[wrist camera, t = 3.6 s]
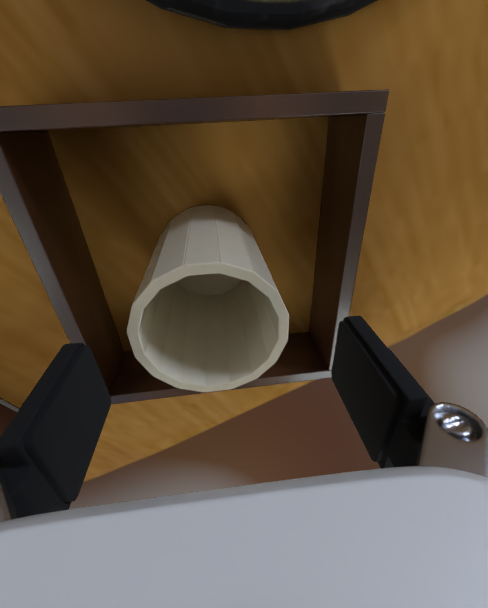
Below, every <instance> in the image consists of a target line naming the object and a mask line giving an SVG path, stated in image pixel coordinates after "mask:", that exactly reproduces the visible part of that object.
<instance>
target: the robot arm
mask: <svg viewBox="0 0 488 608" xmlns="http://www.w3.org/2000/svg"><path fill="white" fill-rule="evenodd" d="M331 375H332V379H333V382H334V384H335V386H336V388H337V390H338V392H339V395H340V396H341V398H342V400H343V403H344V405H345V407H346V409H347V411H348V413H349V415H350V417H351V419H352V421H353V423H354V425H355V427H356V429H357V431H358V433H359V435H360V437H361V439H362V441H363V443H364V445H365V447H366V449H367V451H368V453H369V455H370V457H371V459H372V460H373V461H374V462H376V461H377V462H378V464H379V466H380V468H381V469H374V470H364V471H355V472H345V473H337V474H330V475H322V476H314V477H306V478H298V479H290V480H282V481H275V482H266V483H259V484H251V485H244V486H236V487H229V488H221V489H213V490H205V491H199V492H190V493H183V494H176V495H168V496H161V497H154V498H146V499H139V500H132V501H124V502H118V503H110V504H104V505H95V506H89V507H82V508H76V509H69V507H70V504H71V501H75V500H76V498H77V496H78V494H79V492H80V489H81V486H82V483H83V481H84V478H85V475H86V472H87V470H88V467H89V464H90V461H91V458H92V456H93V453H94V450H95V447H96V445H97V442H98V439H99V436H100V434H101V431H102V428H103V425H104V422H105V420H106V417H107V414H108V411H109V409H110V406H111V397H110V394H109V392H108V389H107V387H106V384H105V382H104V379H103V377H102V375H101V372H100V370H99V367H98V365H97V362H96V360H95V358H94V355H93V353H92V350H91V348H90V347H89V346H85V344H84V343H71V344H65V345H63V346H62V348H61V349H60V351H59V352H58V354H57V355H56V357H55V358H54V360H53V361H52V362H51V364H50V365H49V367H48V368H47V370H46V371H45V373H44V374H43V376H42V377H41V379H40V380H39V381H38V383H37V384H36V386H35V387H34V389H33V390H32V392H31V393H30V395H29V396H28V397H27V399H26V400H25V402H24V403H23V405H22V406H21V408H20V409H19V411H18V412H17V414H16V415H15V416H14V418H13V419H12V421H11V422H10V424H9V425H8V427H7V428H6V430H5V431H4V433H3V434H2V435H1V437H0V608H488V428H487V427H486V425H485V424H484V422H483V421H482V420H481V419H480V418H479V417H478V416H477V415H476V414H474V413H473V412H471V411H470V410H468V409H466V408H464V407H461V406H459V405H456V404H452V403H445V402H441V403H436V404H435V403H434V402H433V401H432V399H431V398H430V397H429V396H428V395H427V394H426V392H425V391H424V390H423V389H422V388H421V386H420V385H419V384H418V383H417V381H416V380H415V379H414V378H413V377H412V375H411V374H410V373H409V372H408V370H407V369H406V368H405V367H404V366H403V364H402V363H401V362H400V361H399V360H398V358H397V357H396V356H395V355H394V354H393V353H392V351H391V350H390V349H389V348H387V347H386V346H385V344H384V343H383V342H382V341H381V340H380V338H379V337H378V336H377V335H376V334H375V332H374V331H373V330H372V329H371V327H370V326H369V325H368V324H367V323H366V321H365V320H364V319H363V318H362V317H361V316H351V317H345V318H344V319H343V321H340V322H339V326H338V333H337V339H336V346H335V352H334V359H333V365H332V372H331ZM68 509H69V510H68Z"/></svg>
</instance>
